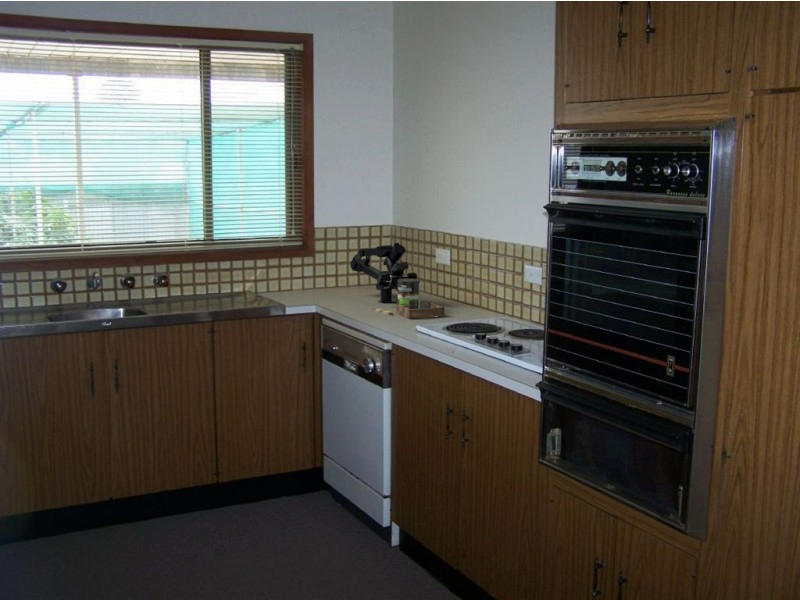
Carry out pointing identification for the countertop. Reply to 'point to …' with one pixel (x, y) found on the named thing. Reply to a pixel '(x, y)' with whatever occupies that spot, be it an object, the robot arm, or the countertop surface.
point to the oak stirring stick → (383, 311)
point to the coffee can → (409, 293)
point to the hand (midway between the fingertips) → (401, 293)
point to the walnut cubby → (421, 311)
